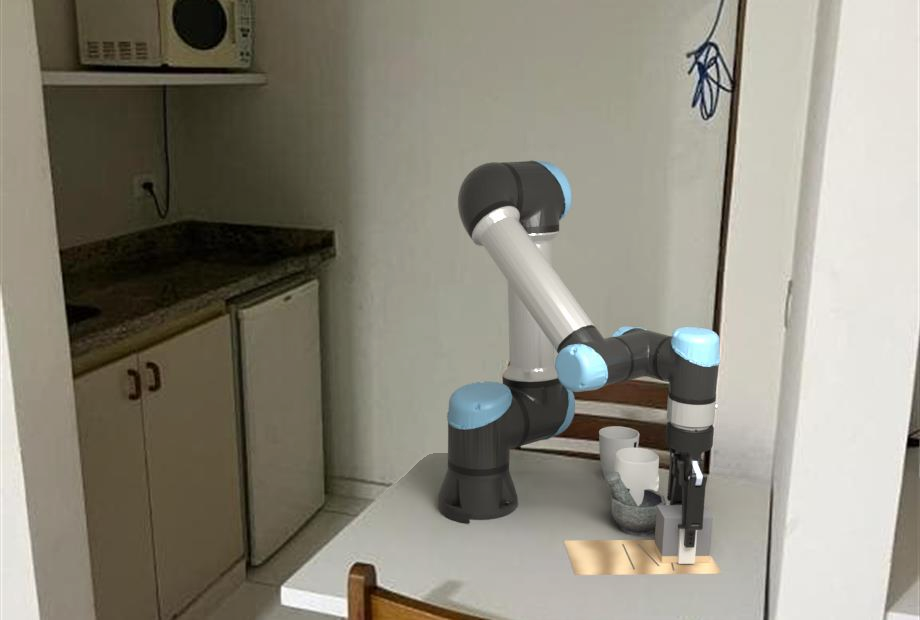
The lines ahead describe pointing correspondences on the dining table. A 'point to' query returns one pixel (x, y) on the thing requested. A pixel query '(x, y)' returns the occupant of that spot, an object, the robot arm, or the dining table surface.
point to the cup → (615, 444)
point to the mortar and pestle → (633, 507)
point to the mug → (637, 470)
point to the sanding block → (669, 534)
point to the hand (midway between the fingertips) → (681, 554)
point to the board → (626, 559)
